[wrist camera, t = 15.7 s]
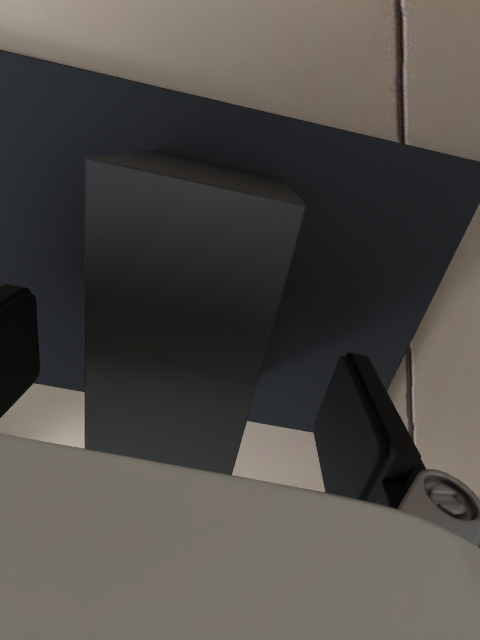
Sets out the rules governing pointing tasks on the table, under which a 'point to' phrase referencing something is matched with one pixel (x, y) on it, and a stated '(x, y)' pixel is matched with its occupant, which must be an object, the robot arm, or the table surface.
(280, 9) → the table surface
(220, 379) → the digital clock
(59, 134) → the rubber mat
